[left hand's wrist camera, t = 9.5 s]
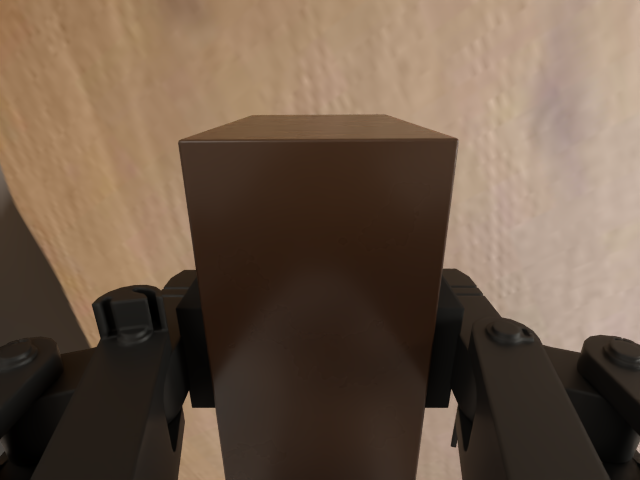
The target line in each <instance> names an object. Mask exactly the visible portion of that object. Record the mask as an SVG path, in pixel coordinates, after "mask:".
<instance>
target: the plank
mask: <svg viewBox="0 0 640 480" xmlns="http://www.w3.org/2000/svg"><path fill="white" fill-rule="evenodd" d="M458 143H459V141H458V139H457V138H454V137H451V136H448V135H445V134H442V133H439V132H436V131H433V130H430V129H427V128H424V127H421V126H418V125H415V124H412V123H409V122H406V121H403V120H400V119H397V118H394V117H391V116H388V115H252V116H249V117H246V118H243V119H240V120H237V121H234V122H231V123H228V124H225V125H223V126H220V127H217V128H214V129H211V130H208V131H205V132H202V133H199V134H196V135H193V136H190V137H187V138H184V139H181V140H179V142H178V145H179V152H180V159H181V166H182V173H183V180H184V187H185V194H186V202H187V209H188V216H189V223H190V230H191V237H192V244H193V251H194V259H195V266H196V273H197V280H198V287H199V294H200V301H201V309H202V316H203V323H204V330H205V337H206V344H207V351H208V358H209V366H210V373H211V380H212V387H213V394H214V401H215V408H216V415H217V423H218V430H219V437H220V444H221V451H222V458H223V465H224V473H225V480H416V474H417V466H418V458H419V450H420V442H421V434H422V427H423V419H424V411H425V403H426V395H427V387H428V379H429V371H430V364H431V356H432V348H433V340H434V332H435V324H436V316H437V308H438V301H439V293H440V285H441V277H442V269H443V261H444V253H445V246H446V238H447V230H448V222H449V214H450V206H451V198H452V190H453V183H454V175H455V167H456V159H457V151H458Z"/></svg>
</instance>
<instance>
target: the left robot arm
mask: <svg viewBox="0 0 640 480" xmlns="http://www.w3.org/2000/svg"><path fill="white" fill-rule="evenodd" d="M92 307H93V311H94V315H95V319H96V322H97V326H98V330H99V334H100V338H101V339H100V341H99V343H98V345H97V347H94V348H90V349H86V350H81V351H75V352H70V353H65V354H60V352H59V349H58V346H57V343H56V342H55V341H54V340H52V339H51V338H46V337H33V338H24V339H20V340H15V341H12V342H9V343H8V344H6V345H4V346H2V347H0V441H1V443H2V446H3V448H4V450H5V452H4V453H3V454H2V455H1V456H0V480H178V473H179V465H180V457H181V449H182V441H183V433H184V425H185V420H184V413H183V408H182V405H183V403H184V401H185V398H186V396H187V394H188V391H189V392H190V398H191V404H192V408H215V401H214V394H213V387H212V380H211V373H210V366H209V358H208V351H207V344H206V337H205V330H204V323H203V316H202V309H201V301H200V294H199V287H198V280H197V273H196V270H184V271H182V272H180V273H179V274H177V275H175V276H174V277H172V278H171V279H170V280H169V281H168V283H167V284H166V285H165V287H164V289H162V290H160V289H158V288H157V287H154V286H149V285H133V286H127V287H122V288H119V289H116V290H113V291H110V292H108V293H106V294H104V295H102V296H101V297H99V298H98V299H97V300H96V301H95V302H94V303H93V304H92ZM451 389H452V391H453V393H454V396H455V398H456V400H457V403H458V408H457V413H456V419H455V424H454V430H453V435H452V442H451V447H456V444H457V440H458V448H459V456H460V464H461V472H462V480H640V453H639V452H638V451H637V450H636V449H637V446H638V444H639V442H640V345H639V344H636V343H634V342H633V341H631V340H628V339H625V338H623V339H622V338H621V337H616V336H605V335H597V336H590V337H589V338H588V339H586V340H585V341H584V344H583V347H582V350H581V353H579V352H574V351H569V350H563V349H558V348H553V347H549V346H545V345H542V343H541V341H540V339H539V337H538V336H537V335H536V334H535V333H534V331H532V330H531V329H529V328H528V327H526V326H525V325H523V324H521V323H519V322H516V321H514V320H511V319H506V318H502V317H501V316H500V315H499V313H498V312H497V311H496V310H495V308H494V307H493V306H492V305H491V303H490V302H489V301H488V300H487V298H486V297H485V296H483V293H482V292H481V291H480V290H479V288H477V286H476V285H475V283H474V282H473V281H472V280H471V278H470V277H469V276H467V275H465V274H464V273H462V272H461V271H459V270H457V269H442V277H441V285H440V293H439V301H438V308H437V316H436V324H435V332H434V340H433V348H432V356H431V364H430V371H429V379H428V387H427V395H426V403H425V408H448V405H449V399H450V393H451Z"/></svg>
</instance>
